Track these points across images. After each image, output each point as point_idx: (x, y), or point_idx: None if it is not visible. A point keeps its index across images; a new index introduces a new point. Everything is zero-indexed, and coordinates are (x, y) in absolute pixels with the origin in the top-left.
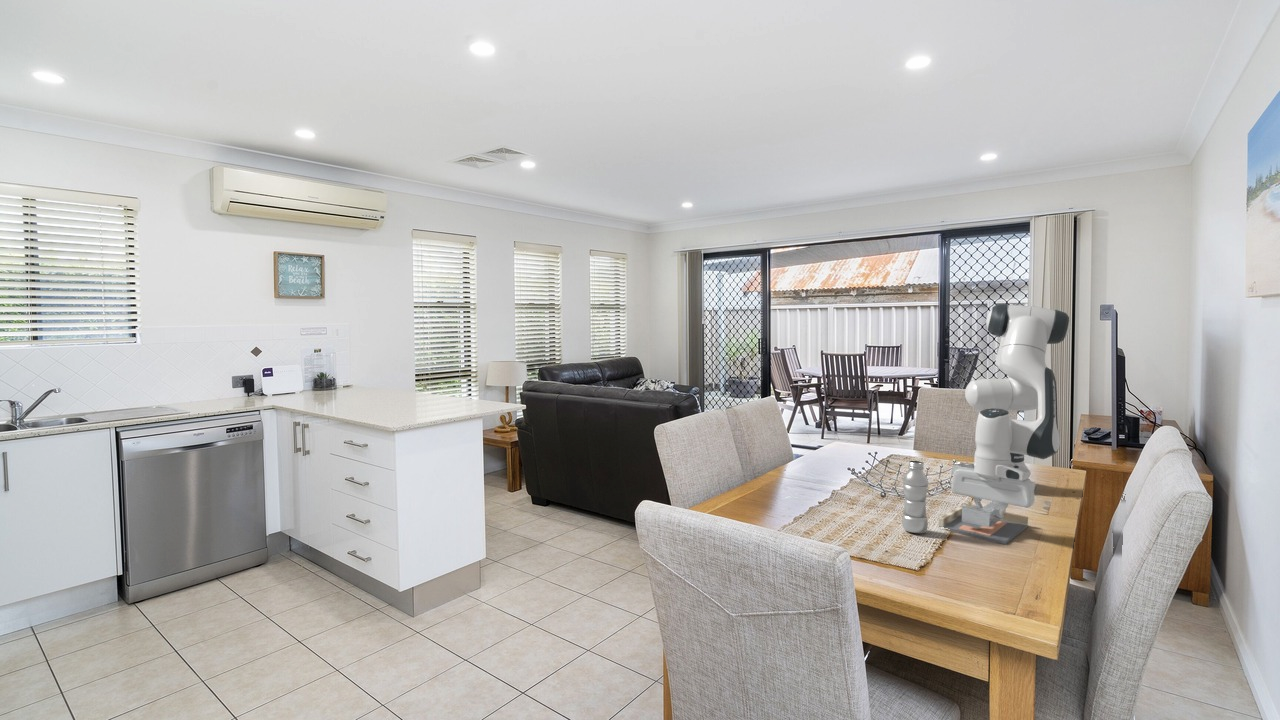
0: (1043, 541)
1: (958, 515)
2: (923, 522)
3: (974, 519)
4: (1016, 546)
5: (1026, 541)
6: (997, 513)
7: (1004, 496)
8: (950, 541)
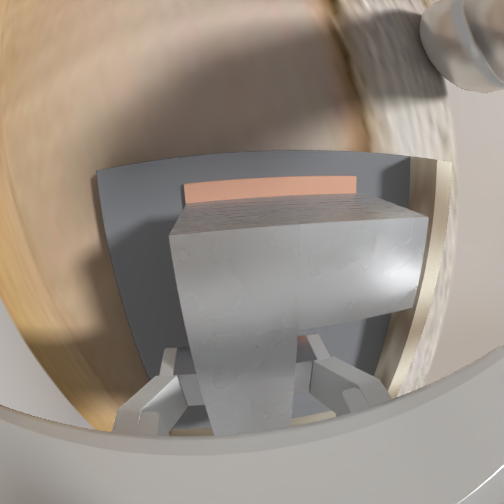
0: (62, 339)
1: (389, 342)
2: (446, 5)
3: (297, 201)
4: (67, 192)
5: (81, 296)
6: (186, 364)
7: (89, 489)
8: (311, 10)
